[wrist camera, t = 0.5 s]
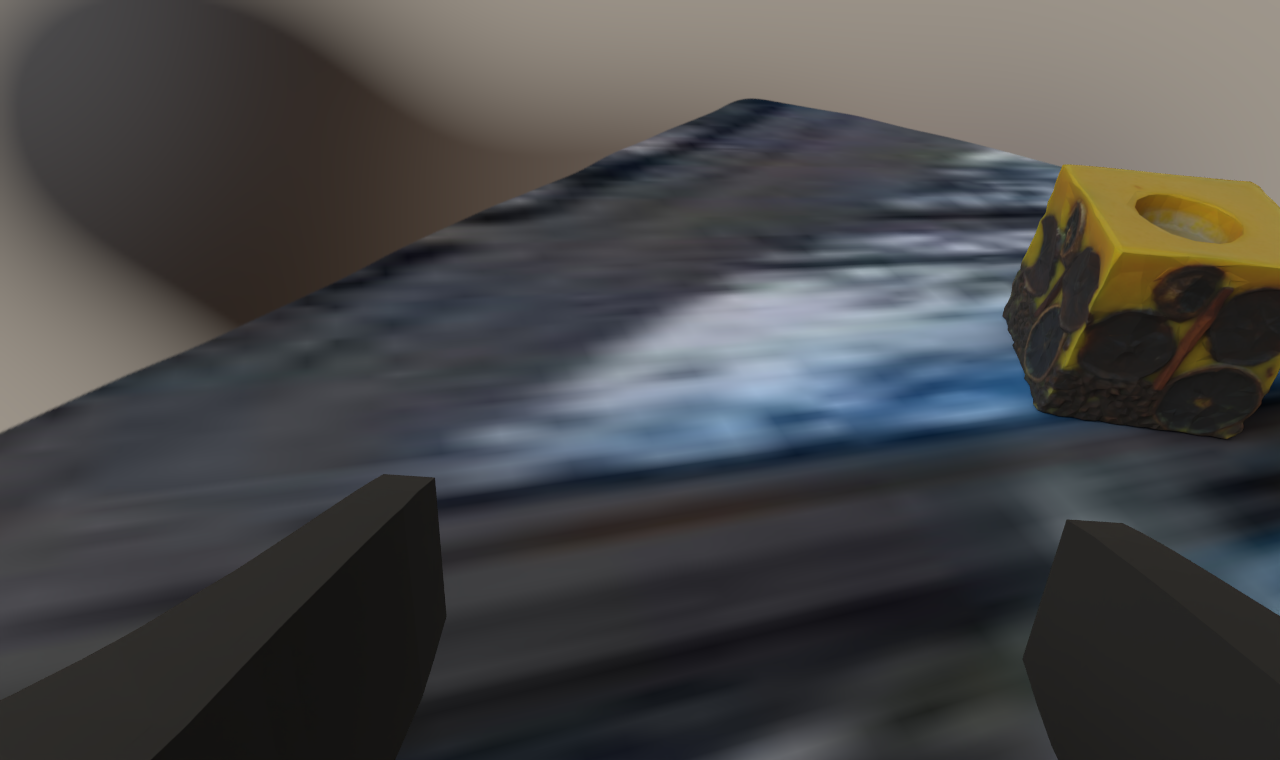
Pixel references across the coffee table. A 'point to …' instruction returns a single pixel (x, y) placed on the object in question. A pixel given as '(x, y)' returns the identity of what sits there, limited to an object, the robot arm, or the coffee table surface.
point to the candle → (1150, 301)
